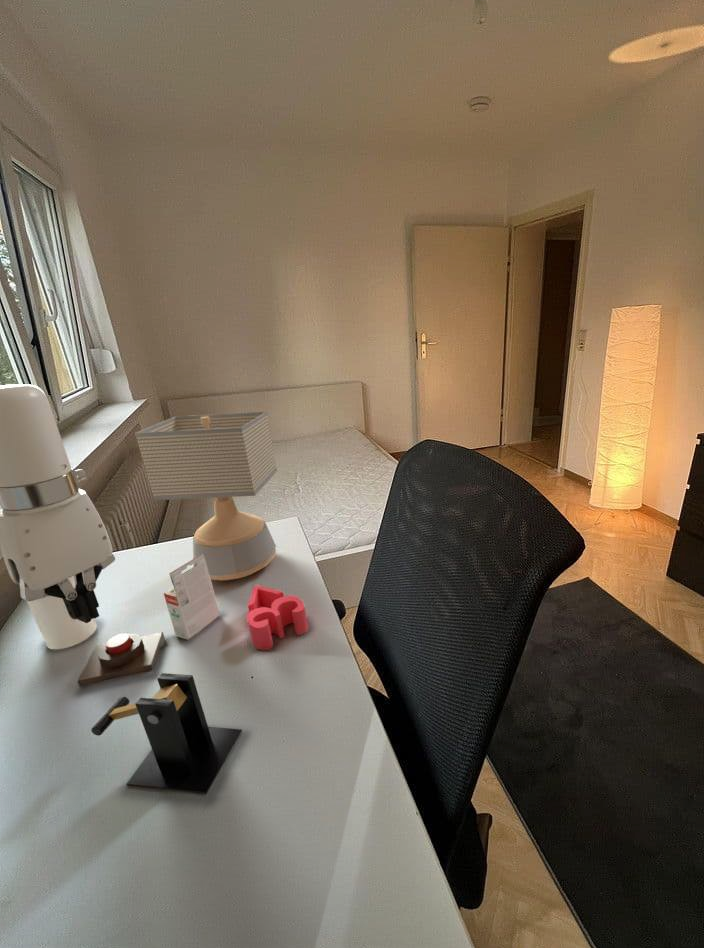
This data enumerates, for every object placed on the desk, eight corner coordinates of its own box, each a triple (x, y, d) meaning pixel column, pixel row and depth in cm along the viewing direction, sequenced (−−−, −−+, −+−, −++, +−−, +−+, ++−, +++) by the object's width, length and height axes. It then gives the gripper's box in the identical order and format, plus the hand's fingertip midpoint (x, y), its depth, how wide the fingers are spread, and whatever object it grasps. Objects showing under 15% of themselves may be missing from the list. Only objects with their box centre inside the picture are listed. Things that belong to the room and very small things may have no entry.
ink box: (175, 636, 84) (154, 570, 79) (207, 612, 91) (191, 549, 86) (188, 641, 83) (169, 574, 77) (221, 616, 89) (205, 552, 84)
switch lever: (98, 739, 57) (86, 726, 56) (126, 707, 61) (115, 694, 60) (169, 721, 53) (158, 706, 53) (193, 689, 58) (183, 675, 57)
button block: (81, 691, 73) (73, 672, 71) (100, 654, 81) (93, 637, 79) (154, 674, 75) (148, 656, 74) (165, 640, 83) (160, 623, 82)
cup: (35, 646, 84) (2, 574, 78) (74, 619, 91) (47, 551, 85) (69, 652, 82) (38, 578, 76) (107, 623, 89) (81, 554, 83)
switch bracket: (129, 790, 56) (97, 715, 52) (172, 729, 65) (149, 660, 60) (208, 799, 55) (183, 723, 50) (243, 735, 63) (224, 664, 58)
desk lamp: (292, 545, 116) (268, 406, 103) (270, 586, 99) (237, 424, 85) (211, 548, 117) (177, 411, 104) (175, 589, 100) (128, 430, 86)
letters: (235, 615, 89) (230, 594, 87) (283, 596, 95) (280, 576, 93) (258, 653, 78) (253, 630, 77) (311, 629, 84) (308, 607, 82)
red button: (105, 657, 75) (102, 649, 74) (112, 643, 78) (109, 635, 77) (129, 652, 75) (126, 644, 75) (134, 639, 79) (132, 631, 78)
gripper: (86, 469, 61) (124, 583, 67) (-56, 510, 48) (7, 644, 55) (119, 475, 57) (155, 594, 64) (-25, 521, 45) (38, 662, 52)
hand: (87, 617), depth 60 cm, fingers closed
